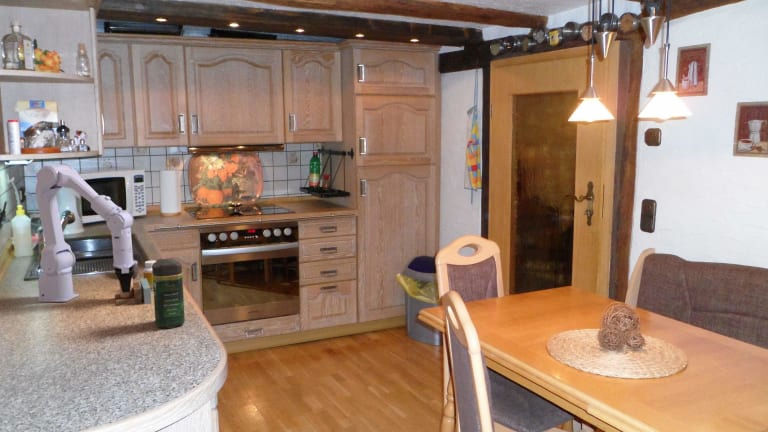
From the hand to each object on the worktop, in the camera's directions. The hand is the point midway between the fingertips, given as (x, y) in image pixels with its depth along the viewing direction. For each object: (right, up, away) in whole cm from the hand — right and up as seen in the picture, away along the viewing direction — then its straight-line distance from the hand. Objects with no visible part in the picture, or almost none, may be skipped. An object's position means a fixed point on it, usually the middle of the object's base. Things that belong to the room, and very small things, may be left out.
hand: (125, 290), depth 197 cm
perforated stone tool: (-12, +1, +33) cm, 36 cm away
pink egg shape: (0, -2, 0) cm, 2 cm away
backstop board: (+5, -3, +3) cm, 7 cm away
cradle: (0, -3, +1) cm, 3 cm away
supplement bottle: (+3, -2, +14) cm, 15 cm away
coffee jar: (+22, -7, -23) cm, 33 cm away
